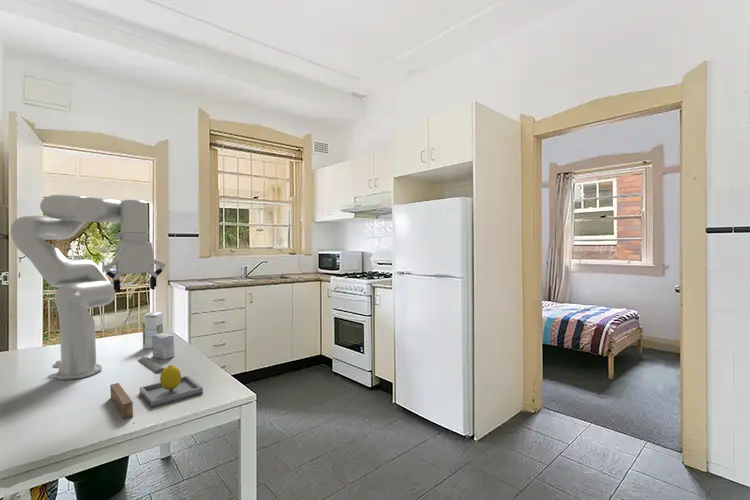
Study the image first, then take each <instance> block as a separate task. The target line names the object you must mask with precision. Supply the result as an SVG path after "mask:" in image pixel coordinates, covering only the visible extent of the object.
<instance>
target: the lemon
mask: <svg viewBox="0 0 750 500" xmlns="http://www.w3.org/2000/svg"><path fill="white" fill-rule="evenodd" d="M164 368H165V369H164V370H163V371H162V372H160V373H161V374H160V379H159V382H160V383H161V386H162V387H163V388H164V389H166V390H169V391H172V390H173V389H174V388H176V387H177V386H178V385H179V384H180V381H181V377H182V374H181V370H180V369H179V368H178V367H177V366H175V365H172V364H169V365H168V366H166V367H164Z"/></svg>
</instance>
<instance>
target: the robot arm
mask: <svg viewBox="0 0 750 500" xmlns="http://www.w3.org/2000/svg"><path fill="white" fill-rule="evenodd" d="M39 205H40V206H39V208H40V210H41V212H42V213H43V214H44V215H25V216H20V217H18V218H16V219H15V220H14V221H13V222H12V223H11V225H10V236H11V239H12V241H13V244H14V246H15V247H16V248H17V249H18V250H19V251H20V252H21V253H22V254H23V255H24V256H25V257H26V258H28V260H29V261H30V262H31V263H32V265H33V266H34V268H35V269H36V270H37V271H38V273H39V274H40V275H41V277H42V278H43V279H44V281H45V282H46V283H47V284H48V285H49V286H51V287H53V288H57V290H56V291H55V293H54V303H55V307H56V309H57V315H58V321H59V335H60V336H59V338H60V339H59V340H60V360H56V361H55V363H54V364H52V367H51V368H52V369H58V371H57V372H56V374H55V378H56V379H57V380H60V381H64V380H65V381H67V380H68V381H69V380H75V379H76V380H78V379H83V378H87V377H90V376H93V375H96V374H98V373H99V372H101V371H102V370H103V365H100V363H99V364H97V347H96V345H97V344H96V343H97V341H96V322H95V319H94V317H93V315H92V314H91V313H90V312H89V309H92V308H97V307H98V308H99V307H103V306H107V305H110V304H111V303H112V302H113V301H114V299H115V297H116V293H121V279H120V278H121V276H123V275H125V274H127V275H130V274H132V275H133V274H147V273H148V274H149V275H150V277H149V289H150V290H153V291H154V290H155V288H156V287H157V278H158V276H159V275H161V273H162V272H163V270H164V268H166V267H165V266H166V263H164V262H161V261H158V260H156V259H155V258H154V257H155V256H154V249H153V244H152V242H151V241H150V242H149V205H148V203H147V202H146V201H145V200H141V199H124V200H122V199H112V198H102V197H101V198H100V197H88V196H83V195H68V194H67V195H65V194H53V195H48V196H46V197H44V198H42V200H41V202H40V204H39ZM87 222H91V223H92V222H93V223H114V224H115V223H116V224H117V223H118V224H119V223H120V232H119V233H118V234H115V236H114V237H115V239H116V240H119V242H118V244H117V249H116V258H115V260H113V261H112V262H109V263H106V264H105V265H103V266H102V269H101V268H100V267H99V265H98V264H96V263H95V262H94V261H92V260H91V259H85V258H80V259H79V258H78V259H77V258H75V259H71V258H67V257H66V256H65V255H64V254H63V253H62V251H61V250H60V249H59V248H58V247H57V246H55V245H54V244H52V243H50V242H48V241H47V240H51V241H53V240H55V241H56V240H68V239H71V238H72V237H73V236H75V235H76V234H77V233H78V231H80V229H82V227H84V225H85V224H86V223H87ZM155 265H156V266H158V268H157V269H156V270H155V267H156V266H155ZM114 266H115V270H116V271H115V273H113V272H112V271H111V269H110V268H113V267H114ZM102 270H103V271H102ZM104 272H105V273H104ZM107 276H108V277H109V278H111V279H112V280H113V283H112V282H111V280H109V279H108V277H107Z"/></svg>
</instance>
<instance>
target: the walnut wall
mask: <svg viewBox="0 0 750 500" xmlns="http://www.w3.org/2000/svg"><path fill="white" fill-rule="evenodd" d="M110 399H111V401H112V402H113V404H114V406H115V408H116V409H117V411H118V412H119V414H120V415H121V417H122V418H123V420H127V419H130V418H133V417H134V406H133V405H134V404H133V403H134V402H133V400H132V399H131V398H130V396H129V395H128V394H127V392H126V391H125V390H124V388H123V387H122V385H121V384H120V383H119V382H117V383H112V384H110Z"/></svg>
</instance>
